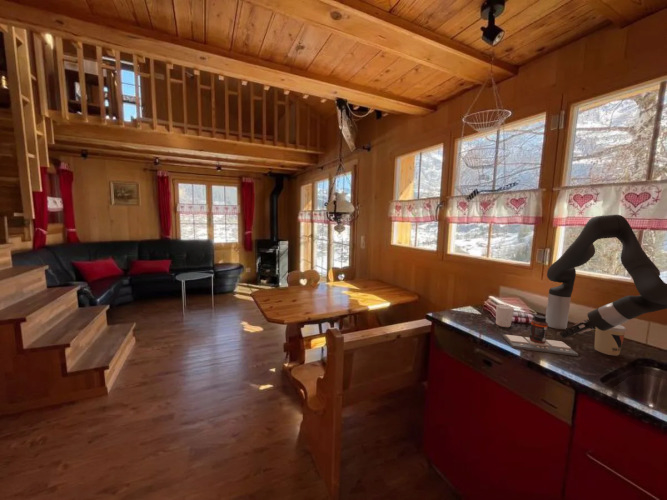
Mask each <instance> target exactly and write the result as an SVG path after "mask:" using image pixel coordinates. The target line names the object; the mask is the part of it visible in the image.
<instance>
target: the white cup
mask: <svg viewBox="0 0 667 500" xmlns="http://www.w3.org/2000/svg"><path fill="white" fill-rule="evenodd" d="M495 306H496V309H495V324H496V325H497V326H500V327H502V328H510V327H511V326H512V325H511V324H512V322H513V321H512V320H513V316H514V310H515V308H514V307H513V306H511V305H506V304H496V305H495Z"/></svg>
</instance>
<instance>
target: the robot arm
mask: <svg viewBox="0 0 667 500" xmlns="http://www.w3.org/2000/svg"><path fill="white" fill-rule="evenodd" d="M614 238H616V239H617V240H619V241H620V243H621V245H622V246H621V247H622V248H621V253H620V262H621V264H622V267H623V268H624V269H625V270H626V272H627V273H628V274H629V276H630V277H631V278H632V281H633V283H634V287H636V290H637V292H638V295H626V296H623V297H621V298H619V299H616V300H615V301H613V302H610V303H609V302H608V303H607V304H604V305H602V306H600V307H598V308H595V309H594V310H591V311H589V312H588V313H587V319H584V320H582V321H579V323H576V324H573V326H571V327H568V321H569V313H570V307H571V300H572V299H571V298H572V294H573V291H574V286H575V281H576V275H577V271H576V268H578V267H581V266H583V265H585V264H587V263H588V262H589V261H590V260H591V259H592V258H593V257H594V256H595V254H596V248H595V244H594V243H595V242H596V241H598V240H601V239H602V240H603V239H614ZM546 271H547V274H546V277H547V279H548V280H549V281H551V282H553V283H562V284H560V285H558V286H554V287H550V288H549V289H548V296H547V303H546V311H545V317H546V322H547V323H548V327H549V328H552V329H556V330H564V331H561V332H560V333H559V335H560V336H561V337H562V338H563V339H565V338H568V337H570V336H578V335H579V334H583V333H585V332H590V331H594V330H595V329H596V327H597V328H598V329H599V330H602V331H606V330H608V329H610V328H613V327H615V326H618V325H622V324H625V323H626V322H628V321H630V320H633V319H635V318H638V317H640V316H642V315H644V314H648V313H655V312H658V311H662V310H667V283H666V282H665V281H664V280H663V279H662V278H661V277H660V275H661V271H660V269H659V268H658V266H657V265H656V264H655V263H654V262H653V260H651V258H650V257H649V256H648V255H647V253H646V252H645V251H644V248H643V247H642V246H641V243H640V242H639V239H638V237H637V236H636V234H635V233H634V230H633V229H632V226H631V225H630V223H629V222H628V220H627V218H625V217H624V216H623V215H622V214H621V215H620V214H607V215H597V216H593V217H591V218H590V219H589V220H588V221H587V222H586V223H585V225H584V226H583V228H582V230H581V232H580V233H579V235H578V236H577V237H576V239H575V240H574V241H573V242H572V243H571V245H569V247H567V249H566V250H565V251H564V253H563V254H562V255H561V256H560V257H559V258H557V260H556V261H555V262H553V263H552V264H551V265H550V266H548V269H547V270H546ZM639 294H640V295H639ZM566 328H567V329H566Z"/></svg>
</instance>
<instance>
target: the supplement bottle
mask: <svg viewBox="0 0 667 500" xmlns="http://www.w3.org/2000/svg"><path fill="white" fill-rule="evenodd" d="M530 322H531V324H530V329H529V330H530V332H529V337H530V340H532V341H534V342H537V343H545V342H546V340H547V334H548V327H549V326H548V323H547V322H546V316H543V315H538V314H536V315H534V319H532V320H531V321H530Z"/></svg>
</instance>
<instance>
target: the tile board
mask: <svg viewBox="0 0 667 500" xmlns="http://www.w3.org/2000/svg"><path fill="white" fill-rule="evenodd" d="M502 337H503V339H504V340H505V341H506V342H507V343H508V344H509V345H510V347H512V349H513V348H514V349H519V350H528V351H535V352H544V353H551V354H558V355H565V356H566V355H567V356H572V357H579V353H578V352H576V351H575V350H573V349H572V348H571V346H569V345H567V344H566V343H565V342H563V341H562V340H561V341H560V340H555V339H554V340H553V339H546V342H545V343H537V342H534V341H532V340H530V336H529V337H527V336H521V335H513V334H502Z"/></svg>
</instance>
